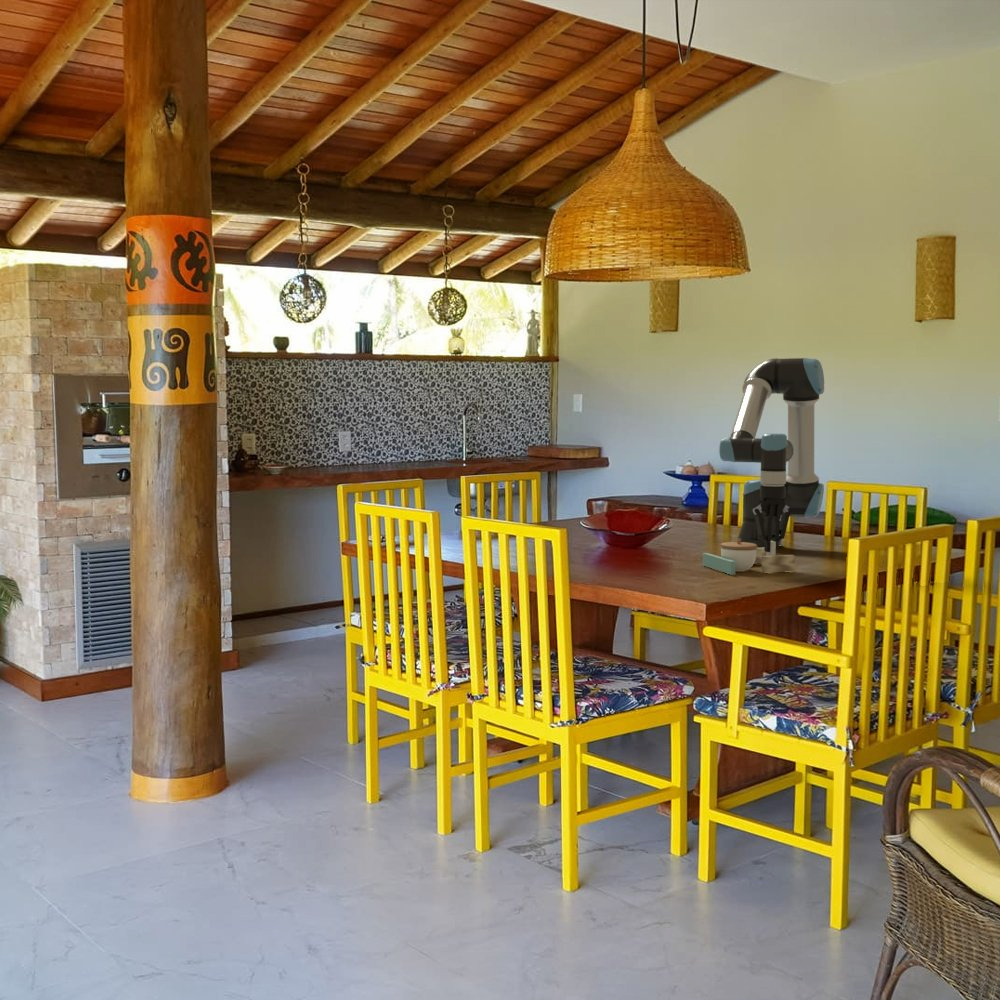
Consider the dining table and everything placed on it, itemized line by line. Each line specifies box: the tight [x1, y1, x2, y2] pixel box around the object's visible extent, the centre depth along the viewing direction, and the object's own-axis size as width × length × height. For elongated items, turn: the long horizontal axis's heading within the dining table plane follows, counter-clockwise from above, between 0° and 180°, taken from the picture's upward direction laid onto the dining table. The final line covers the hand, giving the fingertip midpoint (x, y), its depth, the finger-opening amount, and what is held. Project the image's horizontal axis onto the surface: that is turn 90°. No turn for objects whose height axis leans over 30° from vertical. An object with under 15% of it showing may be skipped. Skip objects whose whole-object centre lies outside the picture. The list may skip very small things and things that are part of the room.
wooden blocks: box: [754, 547, 796, 574], centre depth 352 cm, size 10×18×5 cm, turn 17°
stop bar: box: [701, 552, 736, 576], centre depth 348 cm, size 2×18×4 cm, turn 17°
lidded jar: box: [720, 539, 757, 572], centre depth 349 cm, size 11×11×9 cm
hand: (770, 562), depth 353 cm, fingers closed
